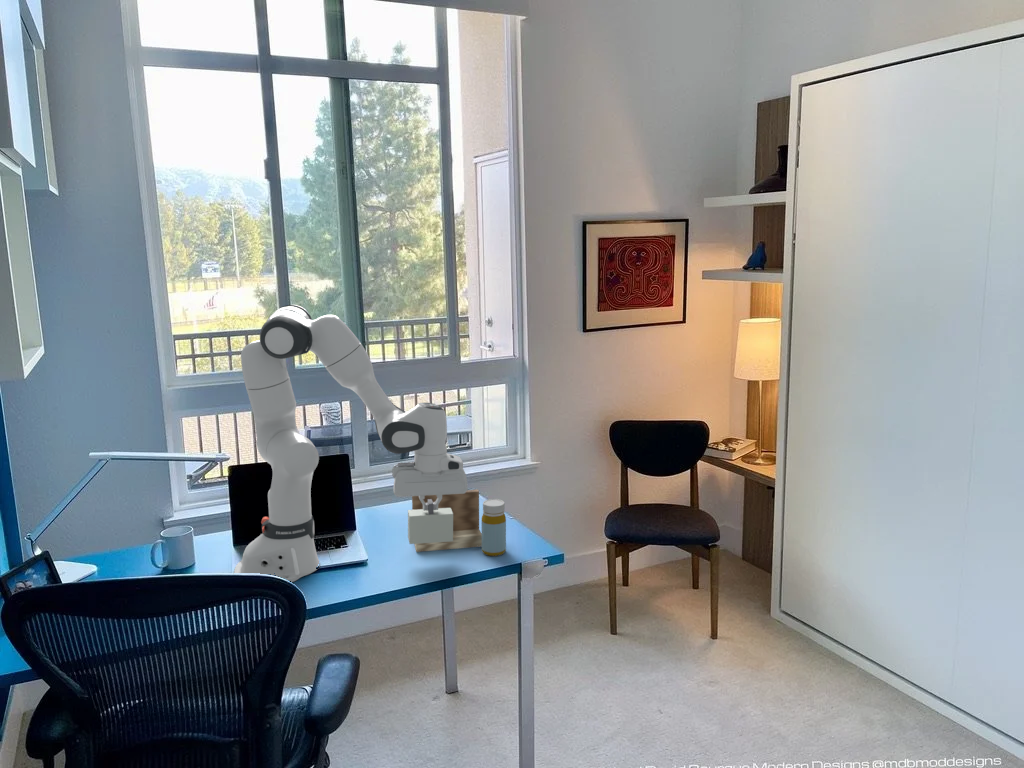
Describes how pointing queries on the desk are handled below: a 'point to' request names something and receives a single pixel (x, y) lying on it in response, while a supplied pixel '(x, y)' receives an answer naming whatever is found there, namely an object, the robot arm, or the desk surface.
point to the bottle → (493, 527)
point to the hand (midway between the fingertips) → (430, 509)
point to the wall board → (456, 520)
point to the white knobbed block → (430, 525)
